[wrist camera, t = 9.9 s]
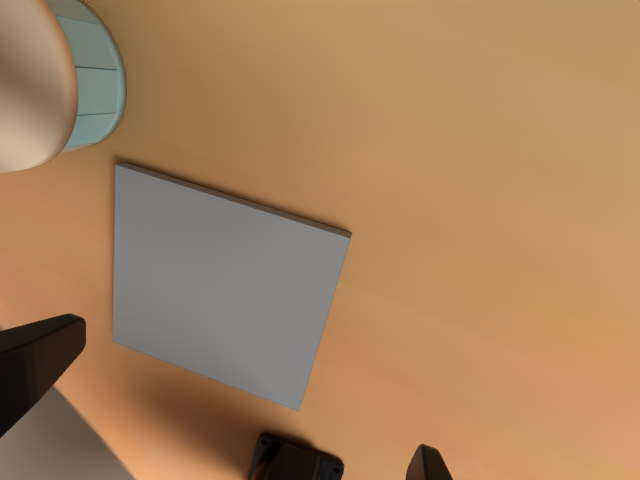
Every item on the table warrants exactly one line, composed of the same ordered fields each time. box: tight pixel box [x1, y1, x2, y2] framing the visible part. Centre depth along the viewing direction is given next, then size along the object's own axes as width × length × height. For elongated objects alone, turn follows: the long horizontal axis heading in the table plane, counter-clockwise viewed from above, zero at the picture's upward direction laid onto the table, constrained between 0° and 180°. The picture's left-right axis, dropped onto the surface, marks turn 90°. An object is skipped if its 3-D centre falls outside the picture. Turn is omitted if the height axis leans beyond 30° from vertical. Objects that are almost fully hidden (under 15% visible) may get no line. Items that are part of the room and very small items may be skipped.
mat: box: [113, 163, 352, 411], centre depth 24 cm, size 13×14×1 cm
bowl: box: [45, 0, 127, 154], centre depth 19 cm, size 8×8×4 cm
